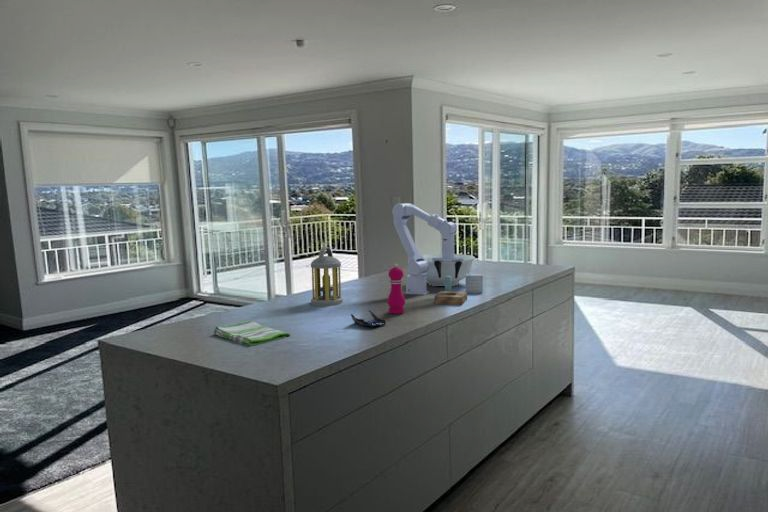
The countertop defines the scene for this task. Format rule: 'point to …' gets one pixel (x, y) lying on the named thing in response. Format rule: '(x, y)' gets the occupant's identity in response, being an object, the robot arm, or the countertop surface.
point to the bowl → (447, 269)
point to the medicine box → (474, 283)
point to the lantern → (326, 279)
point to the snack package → (369, 322)
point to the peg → (448, 283)
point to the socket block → (450, 297)
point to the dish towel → (249, 333)
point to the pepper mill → (396, 291)
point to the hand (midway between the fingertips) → (448, 277)
